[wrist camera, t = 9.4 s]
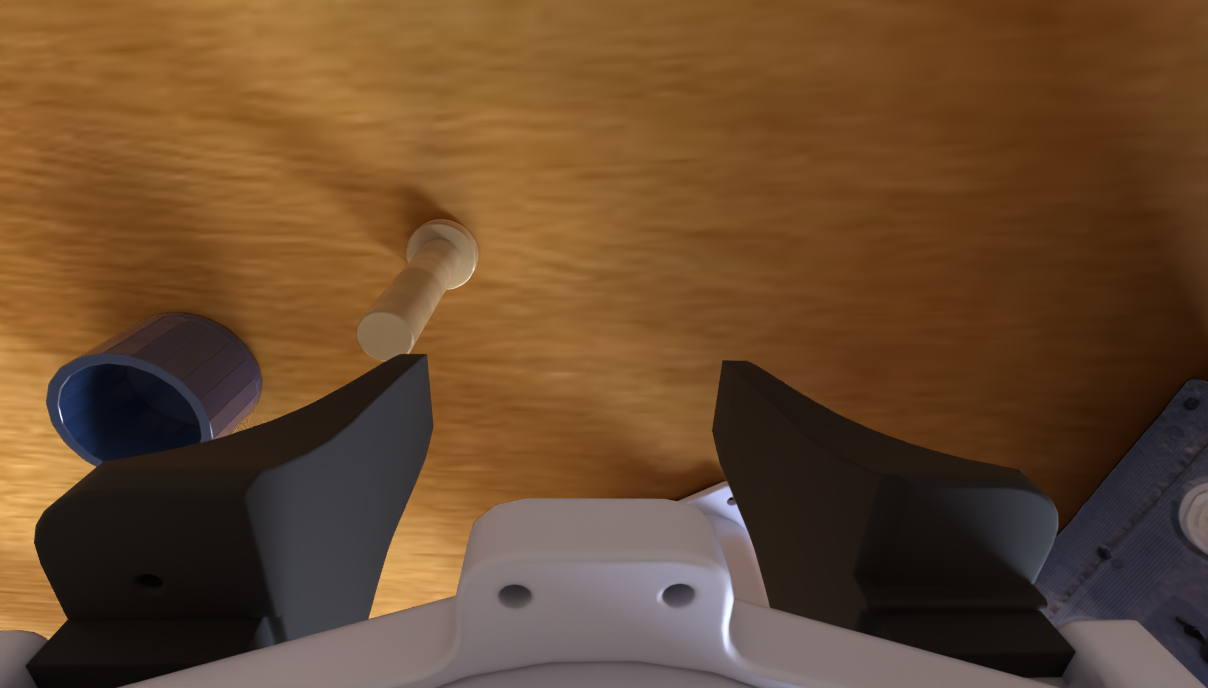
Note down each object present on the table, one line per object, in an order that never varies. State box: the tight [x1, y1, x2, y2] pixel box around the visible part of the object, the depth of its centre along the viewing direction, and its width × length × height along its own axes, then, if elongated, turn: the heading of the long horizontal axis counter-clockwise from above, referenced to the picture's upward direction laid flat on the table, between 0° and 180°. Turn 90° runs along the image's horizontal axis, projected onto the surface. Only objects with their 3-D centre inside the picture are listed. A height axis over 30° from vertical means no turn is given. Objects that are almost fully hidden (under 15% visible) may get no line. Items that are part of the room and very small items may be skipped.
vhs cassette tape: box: [1033, 379, 1208, 688], centre depth 26 cm, size 18×3×10 cm, turn 160°
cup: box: [46, 312, 262, 467], centre depth 22 cm, size 5×5×4 cm
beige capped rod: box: [356, 219, 478, 361], centre depth 19 cm, size 3×3×8 cm
